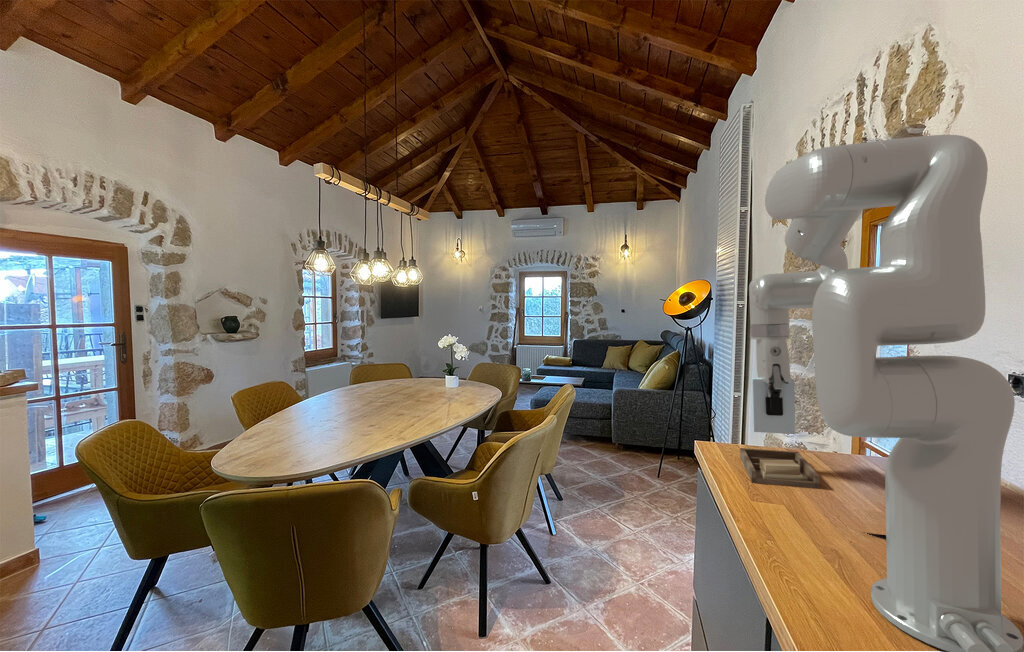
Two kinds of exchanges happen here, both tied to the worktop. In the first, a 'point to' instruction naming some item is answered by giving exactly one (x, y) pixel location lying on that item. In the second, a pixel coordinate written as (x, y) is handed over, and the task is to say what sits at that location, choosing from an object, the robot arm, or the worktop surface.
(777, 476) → the offcut low
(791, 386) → the board
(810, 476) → the rack
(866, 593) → the worktop surface
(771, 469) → the offcut top
